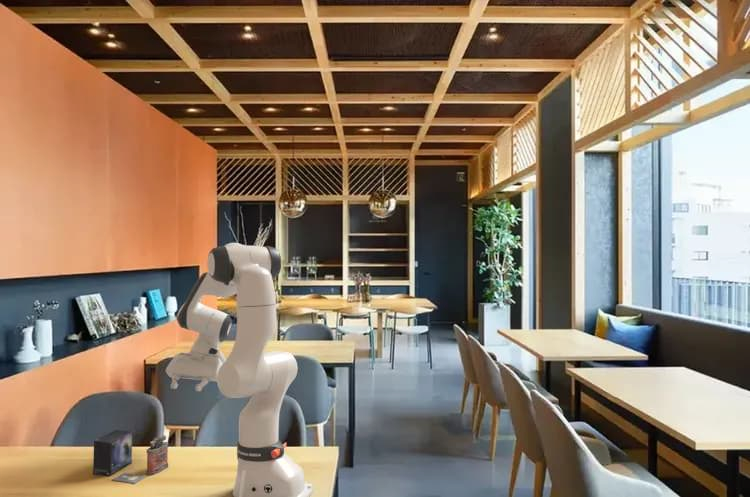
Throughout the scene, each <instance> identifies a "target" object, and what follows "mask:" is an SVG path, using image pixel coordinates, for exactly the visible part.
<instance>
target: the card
mask: <svg viewBox="0 0 750 497" xmlns="http://www.w3.org/2000/svg"><path fill="white" fill-rule="evenodd" d="M147 476H148V475H144V474H143V475H142V474H137V473H130V472H129V473H128V472H123V473H122V474H119V475H118V476H116V477H114V478H113V479H111V480H112V481H116V482H122V483H128V484H138V483H139V482H140V481H142V480H144V479H145V478H147Z"/></svg>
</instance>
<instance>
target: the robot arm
mask: <svg viewBox="0 0 750 497" xmlns="http://www.w3.org/2000/svg"><path fill="white" fill-rule="evenodd" d="M206 267H207V272H203V273H202V274H201V275H200V276H199V277H198V279H197V280H196V282H195V284H194V286H193V287H192V289H191V291H190V293H189V295H188V297H187V299H186V300H185V302H184V303H183V305H182V306H181V307H180V309H179V310H178V313H177V316H176V321H177V323H178V325H179V326H180V328H181V329H186V330H189V331H193V332H195V333H198V338H197V339H196V340H195V341H194V343H193V345H192V346H191V348H190V350H189V352H180V353H177V354H176V355H174V357H173V358H172V359H171V360H170V362H169V364H168V365H167V366H166V368H165V373H166V374H167V376H168V377H169V378H171V380H172V381H171V384H170V388H171V389H175V390H176V389H177V388H178V386H179V383H178V381H179V379H184V380H185V379H186V380H187V379H188V380H196V381H197V380H198V381H201V382H200V383H198V384H197V383H196V384H195V387H194V390H195V391H196V392H201V391H202V389H203V388H204V387H205V386H207V385H208V384H209V382H216V383H217V387H218V389H219V391H220V392H221V394H223V396H224V397H226V398H229V399H230V398H231V399H234V398H235V399H238V398H247V397H250V396H251V397H250V399H249V401H248V403H247V404H246V406H245V407H244V408H243V409H242V410H241V411H240V414H239V416H238V441H237V444H236V445H237V446H236V457H237V459H236V460H237V469H236V470H237V471H236V476H235V481H234V486H233V488H232V496H233V497H310V496H311V495H312V494H311V493H313V490H314V489H313V484H312V483H311V482H307V481H306V479H305V473H304V470H303V468H302V466H300V465H299V463H297V462H296V461H294V460H293V459H292V458H291V457H290V456H288V455H287V454H286V453H285V448H287V442H284V443H282V442H281V440H280V438H279V430H280V429H279V428H280V427H279V424H280V423H279V422H280V412H281V407H282V404H283V401H284V398H285V395H286V392H287V390H288V388H289V387H290V385H291V384H292V383H293V382H294V380H295V379H296V377H297V374H298V368H299V367H298V362H297V359H296V358H295V356H294V355H293V354H292V353H291V352H289V351H285V350H270V351H266V348H267V345H268V343H269V341H271V339H272V338H273V337H274V336H275V334H276V333H277V330H278V324H277V304H276V303H277V299H276V291H275V285H274V281H273V280H274V279H276V278H278V276H279V274H280V273H281V269H282V257H281V254H280V252H279V251H278V249H277V248H276V247H273V246H268V245H264V246H261V245H247V244H242V243H239V242H230V243H229V242H228V243H226V244H225V245H221V246H217V247H214V248H212V249H211V250H210V251H209V252H208V255H207V261H206ZM234 295H236V333H235V334H236V336H235V341H234V344H233V347H232V348H231V349H232V350H231V352H230V354H229V355H228V357H227V359H226V356H225V355H224V354H223V353H222V351H221V350H220V349H219V348H220V346H221V345H222V344H223V342H225V341H226V340H227V338H228V336H229V334H230V332H231V330H232V327H233V325H234V323H233V320H232V318H231V316H230V314H228V313H226V312H224V311H221V310H220V309H215V308H213V307H210V306H208V305H205V304H203V303H201V302H200V301H201V299H202V297H204V296H212V297H213V296H216V297H222V298H227V297H231V296H234Z"/></svg>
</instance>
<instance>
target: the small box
mask: <svg viewBox="0 0 750 497" xmlns="http://www.w3.org/2000/svg"><path fill="white" fill-rule="evenodd" d="M132 461H133V431H129V430H120V429H116V430H113V431H111V432H109V433H106V434H105V435H102V436H100V437H98V438H96V439H94V440H93V462H92V463H93V464H92V475H99V476H104V477H105V476H106V477H111V476H112V475H114V474H116V473H117V472H119V471H121V470H123V469H124V468H126V467H128V466H131V465H132V463H133V462H132Z"/></svg>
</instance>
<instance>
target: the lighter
mask: <svg viewBox="0 0 750 497" xmlns="http://www.w3.org/2000/svg"><path fill="white" fill-rule="evenodd" d="M166 440H167V436H166V435H161V436H159V437H158V438H157V437H155V438H153V440H152V441H150V442H149V443H150V444H149V445H150V447H148V448H147V449H146V454H147V455H146V458H147V461H146V464H147V465H146V476H148V477H149V476H154V475H157V474H159V473H161V472H163V471H164V470H166V469H168V467H169V463H168V462H169V460H168V458H169V457H168V450H169V448H168V447H169V442H167V441H166Z"/></svg>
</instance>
